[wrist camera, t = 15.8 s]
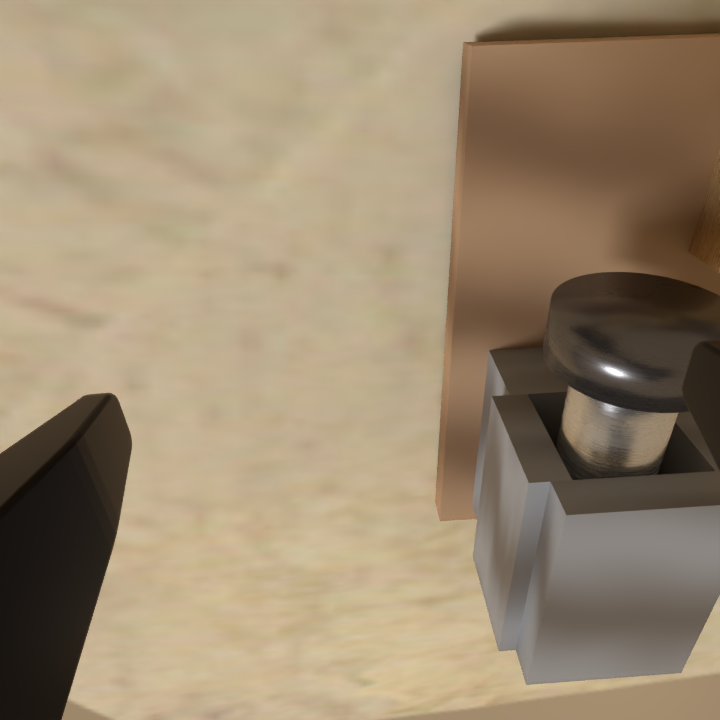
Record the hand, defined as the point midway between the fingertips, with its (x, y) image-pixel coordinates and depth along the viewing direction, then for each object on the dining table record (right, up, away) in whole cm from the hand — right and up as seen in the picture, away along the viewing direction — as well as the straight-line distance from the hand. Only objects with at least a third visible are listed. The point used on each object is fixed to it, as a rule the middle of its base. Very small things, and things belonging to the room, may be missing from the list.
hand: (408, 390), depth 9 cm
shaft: (+7, -3, +12) cm, 14 cm away
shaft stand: (+10, +2, +13) cm, 17 cm away
